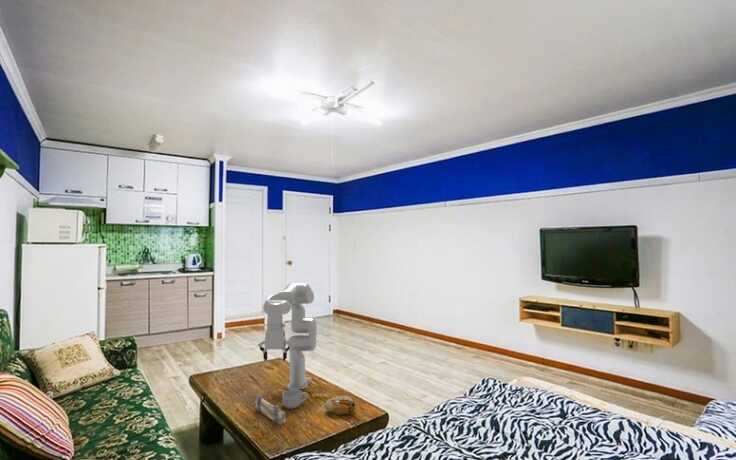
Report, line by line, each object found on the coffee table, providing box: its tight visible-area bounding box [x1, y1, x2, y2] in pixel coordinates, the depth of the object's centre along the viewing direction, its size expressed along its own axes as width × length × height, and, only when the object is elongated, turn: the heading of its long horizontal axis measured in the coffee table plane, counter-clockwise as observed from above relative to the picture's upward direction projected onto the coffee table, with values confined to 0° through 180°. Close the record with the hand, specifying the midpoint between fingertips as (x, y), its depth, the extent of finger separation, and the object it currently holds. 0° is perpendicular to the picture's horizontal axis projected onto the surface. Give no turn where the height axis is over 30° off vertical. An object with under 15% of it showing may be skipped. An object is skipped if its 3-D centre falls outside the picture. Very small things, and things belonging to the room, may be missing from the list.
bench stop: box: [255, 394, 287, 426], centre depth 193 cm, size 4×26×8 cm, turn 43°
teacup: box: [281, 389, 309, 410], centre depth 204 cm, size 14×11×8 cm
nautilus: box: [324, 395, 358, 419], centre depth 193 cm, size 8×22×15 cm
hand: (275, 360), depth 192 cm, fingers open, 9 cm apart
